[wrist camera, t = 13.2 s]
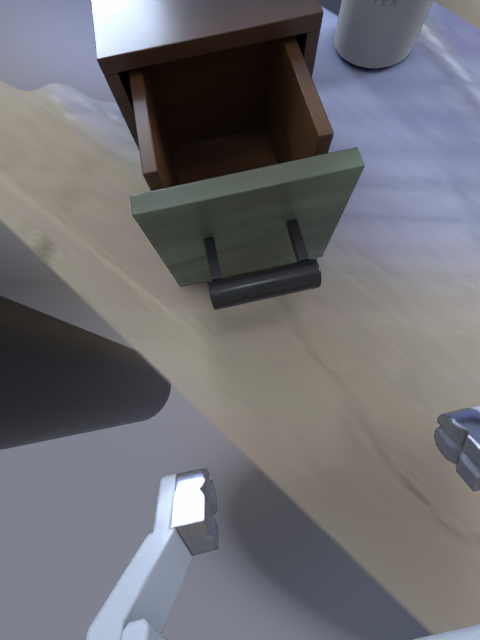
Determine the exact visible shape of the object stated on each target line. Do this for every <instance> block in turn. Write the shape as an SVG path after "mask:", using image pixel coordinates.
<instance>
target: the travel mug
mask: <svg viewBox="0 0 480 640" xmlns="http://www.w3.org/2000/svg"><path fill="white" fill-rule="evenodd" d="M433 1H434V0H342V3H341V8H340V13H339V17H338V22H337V26H336V31H335V35H334V46H335V49H336V51H337V52H338V54H339V55H340V56H341V57H342V58H344V59H345V60H346V61H348V62H350V63H352V64H354V65H356V66H360V67H365V68H384V67H388V66H392V65H395V64H397V63H399V62H401V61H402V60H404V59H405V58H406V57H407V56H408V55H409V53H410V52H411V50H412V48H413V45H414V43H415V41H416V39H417V36H418V34H419V32H420V30H421V27H422V25H423V23H424V21H425V19H426V16H427V14H428V12H429V10H430V7H431V5H432V3H433Z"/></svg>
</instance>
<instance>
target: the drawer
mask: <svg viewBox="0 0 480 640" xmlns="http://www.w3.org/2000/svg"><path fill="white" fill-rule="evenodd" d="M128 71H129V78H130V86H131V93H132V100H133V107H134V115H135V122H136V129H137V136H138V144H139V151H140V158H141V165H142V173H143V176H144V178H145V180H146V182H147V184H148V186H149V188H150V190H151V191H150V192H146V193H141V194H136V195H132V196H130V199H131V208H132V216H133V217H134V218H135V220H136V221H137V223H138V224H139V226H140V227H141V229H142V230H143V232H144V233H145V235H146V236H147V238H148V239H149V241H150V242H151V244H152V245H153V247H154V248H155V250H156V251H157V253H158V254H159V256H160V257H161V259H162V260H163V262H164V263H165V265H166V266H167V268H168V269H169V271H170V272H171V274H172V275H173V277H174V278H175V280H176V281H177V283H178V284H179V286H180V287H182V286H187V285H192V284H196V283H201V282H205V281H210V280H212V281H210V282H208V287H209V292H210V297H211V301H212V305H213V308H214V309H215V310H217V309H222V308H226V307H231V306H236V305H240V304H245V303H249V302H254V301H259V300H263V299H268V298H272V297H277V296H281V295H286V294H291V293H295V292H300V291H304V290H309V289H314V288H318V287H320V285H321V271H320V268H319V265H318V263H317V261H316V260H315V259H311V258H316V257H320V256H322V255H323V253H324V251H325V249H326V247H327V245H328V243H329V241H330V238H331V236H332V234H333V232H334V230H335V228H336V226H337V224H338V222H339V219H340V217H341V215H342V213H343V211H344V209H345V207H346V205H347V202H348V200H349V198H350V196H351V194H352V192H353V190H354V188H355V186H356V183H357V181H358V179H359V177H360V175H361V173H362V171H363V169H364V166H365V164H364V162H363V160H362V157H361V155H360V153H359V150H358V148H357V147H355V148H351V149H346V150H341V151H337V152H332V153H328V151H329V148H330V144H331V141H332V138H333V134H334V133H333V130H332V128H331V125H330V123H329V120H328V118H327V115H326V113H325V110H324V108H323V105H322V103H321V100H320V98H319V95H318V93H317V90H316V88H315V85H314V83H313V80H312V78H311V75H310V73H309V70H308V68H307V65H306V63H305V60H304V58H303V55H302V53H301V50H300V48H299V45H298V43H297V41H296V38H295V36H289V37H284V38H280V39H275V40H270V41H265V42H261V43H256V44H251V45H246V46H242V47H237V48H232V49H228V50H223V51H218V52H213V53H209V54H204V55H199V56H194V57H190V58H185V59H180V60H175V61H171V62H166V63H161V64H157V65H152V66H147V67H142V68H138V69H133V70H128ZM309 259H311V260H309ZM293 262H297V263H293ZM288 263H293V264H288ZM284 264H288V265H284ZM279 265H284V266H279ZM274 266H279V267H274ZM270 267H274V268H270ZM265 268H270V269H265ZM261 269H265V270H261ZM256 270H261V271H256ZM251 271H256V272H251ZM247 272H251V273H247ZM242 273H247V274H242ZM238 274H242V275H238ZM233 275H238V276H233ZM228 276H233V277H228ZM224 277H228V278H224ZM222 278H224V279H222Z"/></svg>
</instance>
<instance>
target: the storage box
mask: <svg viewBox="0 0 480 640" xmlns="http://www.w3.org/2000/svg"><path fill="white" fill-rule="evenodd" d="M91 2H92V12H93V23H94V34H95V43H96V55H97V61H98V63H99V66H100V68H101V70H102V72H103V74H104V75H105V78H106V80H107V83H108V85H109V87H110V89H111V91H112V93H113V96H114V98H115V100H116V102H117V104H118V106H119V108H120V110H121V113H122V115H123V117H124V119H125V121H126V123H127V125H128V128H129V130H130V132H131V134H132V136H133V138H134V140H135V143H136V145H137V147H138V149H139V144H138V136H137V129H136V122H135V115H134V107H133V100H132V93H131V86H130V78H129V71H128V70H133V69H138V68H142V67H147V66H152V65H157V64H161V63H166V62H171V61H175V60H180V59H185V58H190V57H194V56H199V55H204V54H209V53H213V52H218V51H223V50H228V49H232V48H237V47H242V46H246V45H251V44H256V43H261V42H265V41H270V40H275V39H280V38H284V37H289V36H295V38H296V41H297V43H298V45H299V48H300V50H301V53H302V55H303V58H304V60H305V63H306V65H307V68H308V70H309V73H310V75H311V78H312V74H313V68H314V62H315V57H316V51H317V45H318V40H319V34H320V29H321V23H322V17H323V10H322V8H321V5H320V4H319V1H318V0H91Z"/></svg>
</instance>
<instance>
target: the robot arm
mask: <svg viewBox="0 0 480 640" xmlns="http://www.w3.org/2000/svg"><path fill="white" fill-rule="evenodd" d="M437 422H438V424H439V425H440V426H439V427H438V428H437V429H436V430H435V433H434V439H435V443H436V446H437V447H438V449H439V451H440V452H441V453H442V455H443V456H444V457H445V458H446V459H447V460H449V461H451V462H453V463H455V464H456V471H457V473H458V474H459V475H460V476H461V477H462V479H463V480H464V481H465V482H466V483H467V484H468V486H469V487H470V488H471V489H472V490H473V491H478V490H480V406H476V407H471V408H465V409H461V410H457V411H453V412H449V413H445V414H441V415H440V416H439V417H438V420H437ZM216 512H217V498H216V491H215V487H214V483H213V481H212V480H210V479H209V471H208V469H207V468H202V469H197V470H193V471H188V472H183V473H179V474H178V473H177V474H173V475H169V476H164V477H162V480H161V482H160V488H159V494H158V501H157V509H156V515H155V521H154V528H153V533H150V534H148V535H147V537H146V539H145V540H144V542H143V543H142V545H141V546H140V548H139V550H138V551H137V553H136V554H135V556H134V557H133V559H132V561H131V562H130V564H129V565H128V567H127V569H126V570H125V572H124V573H123V575H122V577H121V578H120V580H119V581H118V583H117V584H116V586H115V588H114V589H113V591H112V592H111V594H110V596H109V597H108V599H107V600H106V602H105V604H104V605H103V607H102V608H101V610H100V612H99V613H98V615H97V616H96V618H95V620H94V621H93V623H92V624H91V626H90V628H89V629H88V633H87V637H86V640H167V639H166V638H165V637H164V636H162V634H161V633H162V631H163V628H164V626H165V624H166V621H167V619H168V616H169V614H170V612H171V609H172V607H173V605H174V602H175V600H176V597H177V595H178V593H179V590H180V588H181V585H182V583H183V581H184V578H185V576H186V573H187V571H188V569H189V566H190V564H191V561H192V559H193V557H192V556H193V555H198V554H201V553H205V552H209V551H213V550H217V549H219V548H218V525H217V522H216V520H215V518H214V516H215V514H216ZM413 640H480V624H479V625H474V626H470V627H466V628H461V629H457V630H452V631H448V632H444V633H439V634H435V635H431V636H427V637H422V638H418V639H413Z"/></svg>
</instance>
